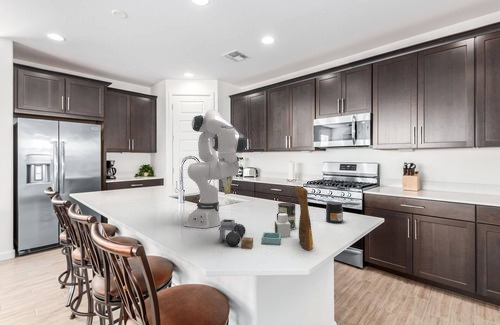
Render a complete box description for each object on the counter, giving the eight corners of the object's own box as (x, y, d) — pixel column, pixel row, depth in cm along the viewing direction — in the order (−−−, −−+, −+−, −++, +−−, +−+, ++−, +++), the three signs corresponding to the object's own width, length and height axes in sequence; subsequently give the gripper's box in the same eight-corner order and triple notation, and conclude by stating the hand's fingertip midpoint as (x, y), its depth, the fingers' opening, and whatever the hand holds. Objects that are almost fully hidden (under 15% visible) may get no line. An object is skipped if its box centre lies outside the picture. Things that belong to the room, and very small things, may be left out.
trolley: (217, 246, 119) (216, 225, 119) (225, 236, 134) (225, 217, 133) (239, 247, 118) (239, 226, 117) (245, 237, 132) (245, 218, 132)
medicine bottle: (274, 233, 139) (274, 211, 138) (287, 232, 139) (287, 211, 139) (277, 237, 131) (277, 214, 131) (290, 236, 132) (290, 214, 132)
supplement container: (343, 224, 155) (343, 205, 154) (325, 223, 158) (325, 204, 158) (342, 220, 165) (342, 202, 164) (326, 219, 168) (326, 201, 168)
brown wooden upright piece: (300, 252, 111) (300, 189, 111) (294, 237, 130) (294, 184, 130) (315, 252, 111) (315, 189, 110) (307, 238, 130) (307, 184, 129)
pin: (222, 194, 126) (221, 174, 126) (226, 193, 129) (225, 174, 129) (228, 194, 124) (227, 174, 124) (232, 193, 127) (231, 174, 127)
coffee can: (295, 225, 153) (295, 202, 152) (295, 230, 143) (295, 206, 142) (278, 224, 155) (278, 202, 154) (277, 229, 145) (277, 205, 144)
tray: (261, 244, 122) (261, 237, 122) (263, 237, 131) (263, 232, 130) (280, 245, 120) (280, 238, 120) (280, 238, 129) (280, 233, 129)
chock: (241, 248, 117) (241, 239, 116) (243, 245, 121) (242, 237, 120) (251, 249, 116) (251, 240, 115) (253, 246, 120) (253, 237, 119)
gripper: (223, 158, 115) (223, 188, 115) (240, 157, 134) (240, 183, 135) (211, 158, 117) (211, 188, 118) (229, 157, 136) (230, 183, 137)
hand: (227, 185), depth 126 cm, fingers closed on pin, 3 cm apart
